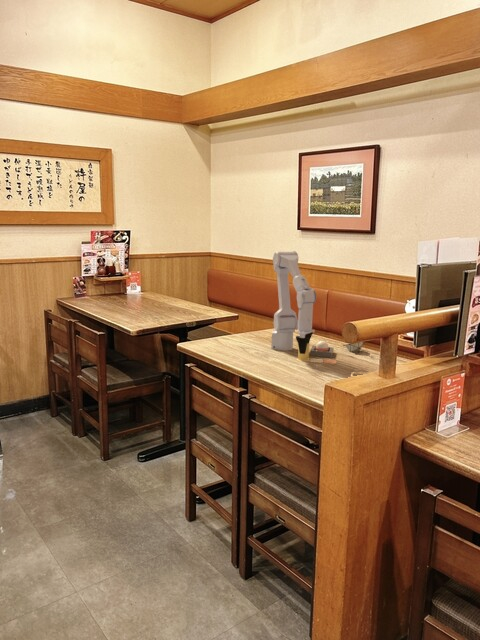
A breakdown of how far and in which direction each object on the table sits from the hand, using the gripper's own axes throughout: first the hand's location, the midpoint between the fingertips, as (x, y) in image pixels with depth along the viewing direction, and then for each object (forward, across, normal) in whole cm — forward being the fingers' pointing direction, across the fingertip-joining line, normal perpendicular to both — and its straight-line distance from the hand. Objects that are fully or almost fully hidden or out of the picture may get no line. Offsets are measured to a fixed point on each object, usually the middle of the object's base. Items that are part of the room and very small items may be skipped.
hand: (303, 351), depth 207 cm
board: (+4, +6, -6) cm, 10 cm away
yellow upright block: (+3, 0, 0) cm, 3 cm away
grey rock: (+5, +22, -19) cm, 30 cm away
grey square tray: (+3, +11, -6) cm, 13 cm away
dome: (+3, +11, -6) cm, 13 cm away
